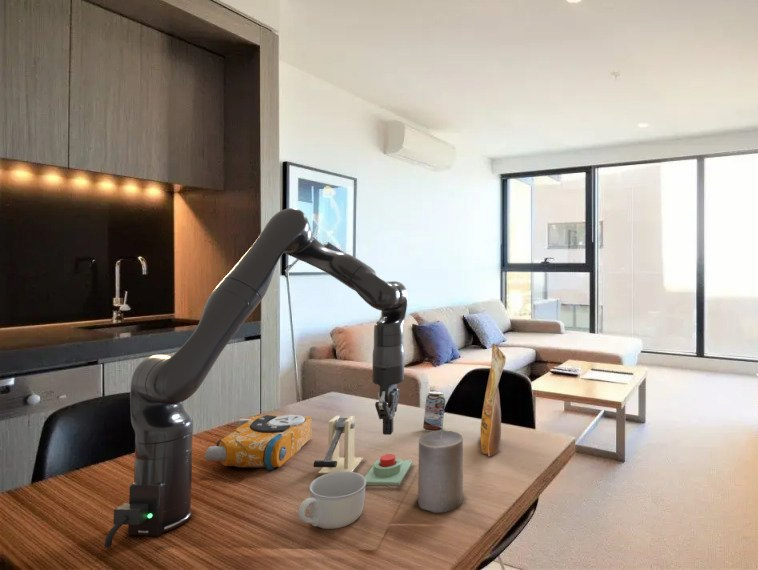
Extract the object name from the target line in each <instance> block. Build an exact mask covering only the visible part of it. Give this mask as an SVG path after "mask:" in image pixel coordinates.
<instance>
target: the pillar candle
mask: <svg viewBox="0 0 758 570" xmlns="http://www.w3.org/2000/svg"><path fill="white" fill-rule="evenodd" d="M417 441H418V475H417V476H418V479H417V480H418V483H417V485H418V488H417V489H418V491H417V493H418V495H417V497H418V498H417V503H418V504H417V505H418V507H419V508H420V509H422V510H425V511H427V512H431V513H434V514H435V513H436V514H439V513H446V512H451V511H453V510H455V509H457V508H458V507H459V506H460V505H461V504H462V503H463V500H464V499H463V498H464V497H463V496H464V495H463V494H464V437H463V435H462V434H460V433H459V432H456V431H452V430H440V431H434V432H433V431H429V432H427V433H425V434H422V435H421V436H420V437H419V438H418V440H417Z"/></svg>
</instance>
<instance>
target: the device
mask: <svg viewBox="0 0 758 570" xmlns="http://www.w3.org/2000/svg"><path fill="white" fill-rule="evenodd" d="M312 420H313V419H312V417H311V416H309V415H301V414H285V415H284V414H283V415H282V414H281V415H280V414H275V415H274V414H271V415H269V414H266V415H263V414H262V415H261V414H259V415H257V416H249V417H247V418H240V419H239V420H238V427H237V428H234V430H233V431H232V432H230V433H228V434H227V435H225V436H224V437H222V438H220V439H218V441H217V442H216V445H210V446H209V447H208V448H207V449H206V451H205V453H204V459H205V461H208V462H220V463H221V464H222V465H223V467H236V468H263V469H265V468H266V470H269V471H272V470H275V468H280V467H282V466H283V465H284V464H285V463H286V462H287V461H288V460H289V459H291V458H292V457H294V455H295V454H297V453H298V452H299V451H300V450H301V448H302V447H303V446H305V444H306V443H308V442H309V441H310V440H311V439H312Z"/></svg>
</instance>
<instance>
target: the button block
mask: <svg viewBox="0 0 758 570" xmlns="http://www.w3.org/2000/svg"><path fill="white" fill-rule="evenodd" d="M412 465H413V460H412V459H410V460H409V459H408V460H407V459H406V460H405V459H404V460H403V459H401V458H398V457H395V465H393V466H388V467H382V466H380V459H377V460H375V462H374V463H373V465H372V466H371V468H370V469H369V470H368V471H367V473H366V474H365V476H364V477H365V479H366V486H400V485H401V483H402V481H403V480H404V478H405V476H406V474H407V473H408V471H409V469H410V467H411V466H412Z"/></svg>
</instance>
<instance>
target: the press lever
mask: <svg viewBox="0 0 758 570" xmlns="http://www.w3.org/2000/svg"><path fill="white" fill-rule="evenodd" d="M347 419H348V417H340V418H339V419H338V421H337V423H336V426H335V428H336V434H335V436H334V438H333V440H332V443H331V445H330V447H329V446H328V450H327V452H326V454H325V456H324V458H323V460H321V459H320V460H317V459H315V460H314V461H313V468H323V467H336V466H337V461H330V460H331V457H332V455H333V453H334V450H335V448H336V446H337V443H338V441H339V442H340V439H341V436H342V434H345V421H346V420H347Z"/></svg>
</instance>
